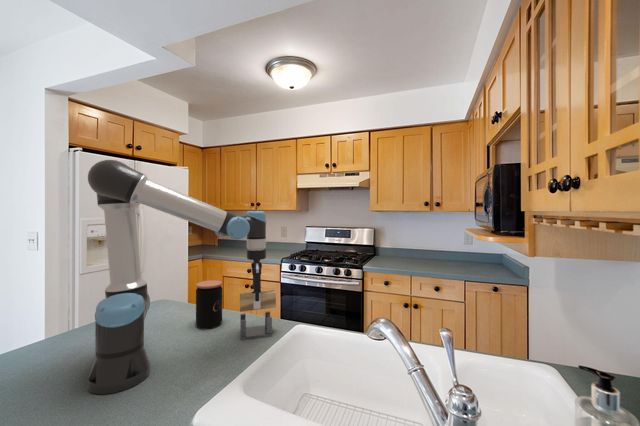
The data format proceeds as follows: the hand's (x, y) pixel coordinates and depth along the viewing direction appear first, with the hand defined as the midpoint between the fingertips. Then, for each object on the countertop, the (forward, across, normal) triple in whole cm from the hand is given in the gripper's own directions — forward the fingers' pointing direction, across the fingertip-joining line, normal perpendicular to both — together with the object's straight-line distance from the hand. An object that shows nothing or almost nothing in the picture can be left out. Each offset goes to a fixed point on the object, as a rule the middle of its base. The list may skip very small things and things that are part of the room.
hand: (256, 306), depth 114 cm
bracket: (+11, 0, 0) cm, 11 cm away
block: (+1, 0, -1) cm, 1 cm away
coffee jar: (+11, +14, +19) cm, 26 cm away
